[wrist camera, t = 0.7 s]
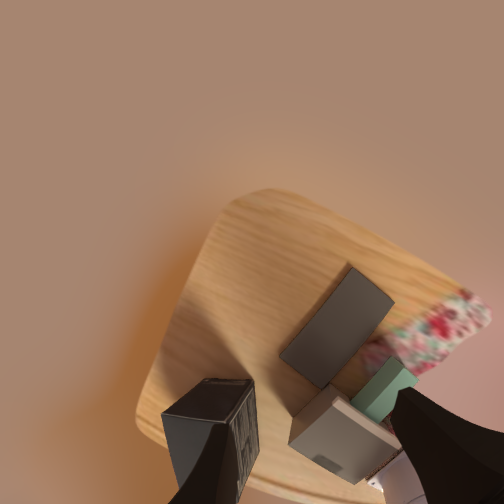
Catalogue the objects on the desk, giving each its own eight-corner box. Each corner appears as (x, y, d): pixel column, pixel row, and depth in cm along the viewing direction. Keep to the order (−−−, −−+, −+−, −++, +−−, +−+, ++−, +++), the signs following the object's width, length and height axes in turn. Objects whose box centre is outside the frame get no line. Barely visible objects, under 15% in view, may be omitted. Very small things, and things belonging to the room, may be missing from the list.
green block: (404, 366, 26) (419, 380, 21) (344, 429, 26) (348, 450, 22) (390, 355, 26) (404, 367, 22) (330, 419, 27) (332, 440, 22)
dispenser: (390, 419, 25) (404, 444, 19) (349, 456, 25) (354, 485, 20) (334, 377, 27) (338, 399, 21) (292, 418, 28) (287, 445, 22)
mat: (393, 302, 27) (394, 302, 26) (321, 387, 27) (321, 389, 27) (351, 267, 28) (352, 267, 28) (279, 355, 29) (279, 356, 28)
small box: (200, 376, 30) (155, 410, 20) (255, 378, 29) (228, 419, 19) (210, 448, 29) (176, 494, 19) (260, 452, 28) (240, 505, 18)
